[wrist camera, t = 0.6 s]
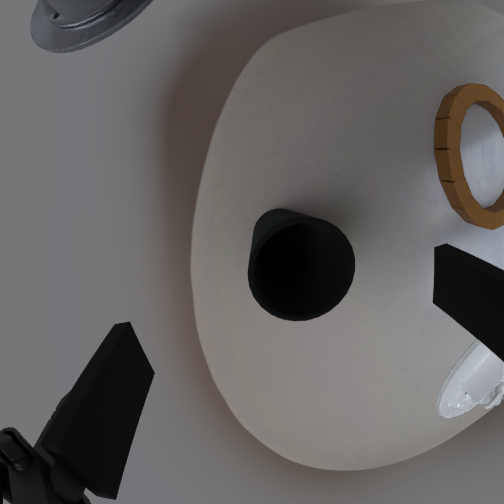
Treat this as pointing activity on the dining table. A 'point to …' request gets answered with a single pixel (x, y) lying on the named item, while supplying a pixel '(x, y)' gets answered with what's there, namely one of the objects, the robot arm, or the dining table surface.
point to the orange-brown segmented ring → (450, 153)
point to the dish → (472, 382)
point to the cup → (299, 265)
